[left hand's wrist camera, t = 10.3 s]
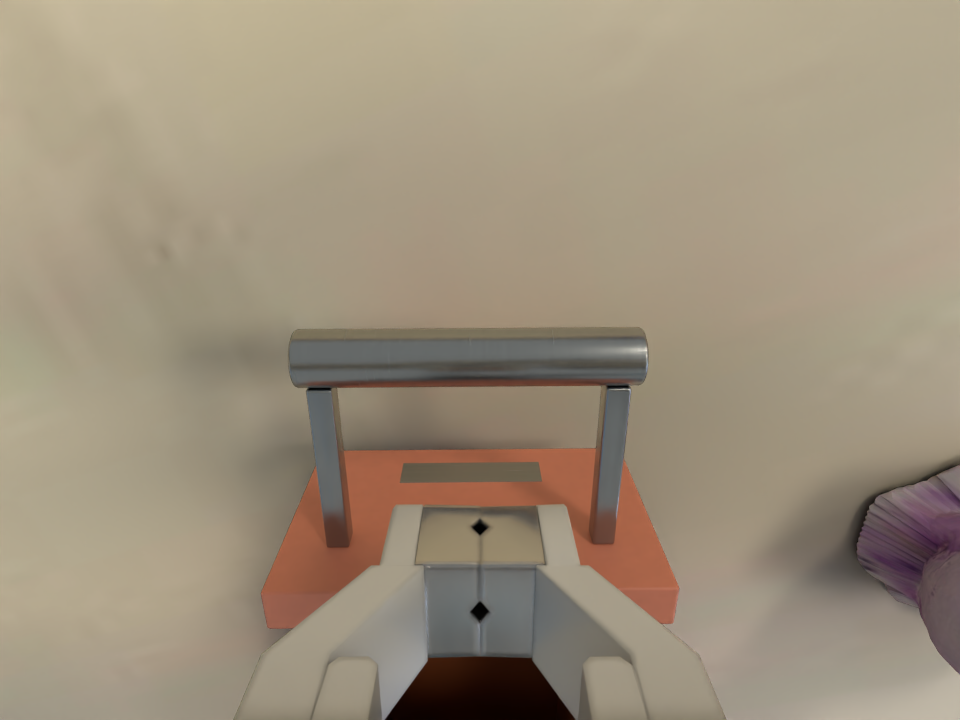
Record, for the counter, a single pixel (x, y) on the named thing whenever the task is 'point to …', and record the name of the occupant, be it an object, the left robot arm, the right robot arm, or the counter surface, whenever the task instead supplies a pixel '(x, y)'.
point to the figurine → (920, 553)
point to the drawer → (467, 487)
